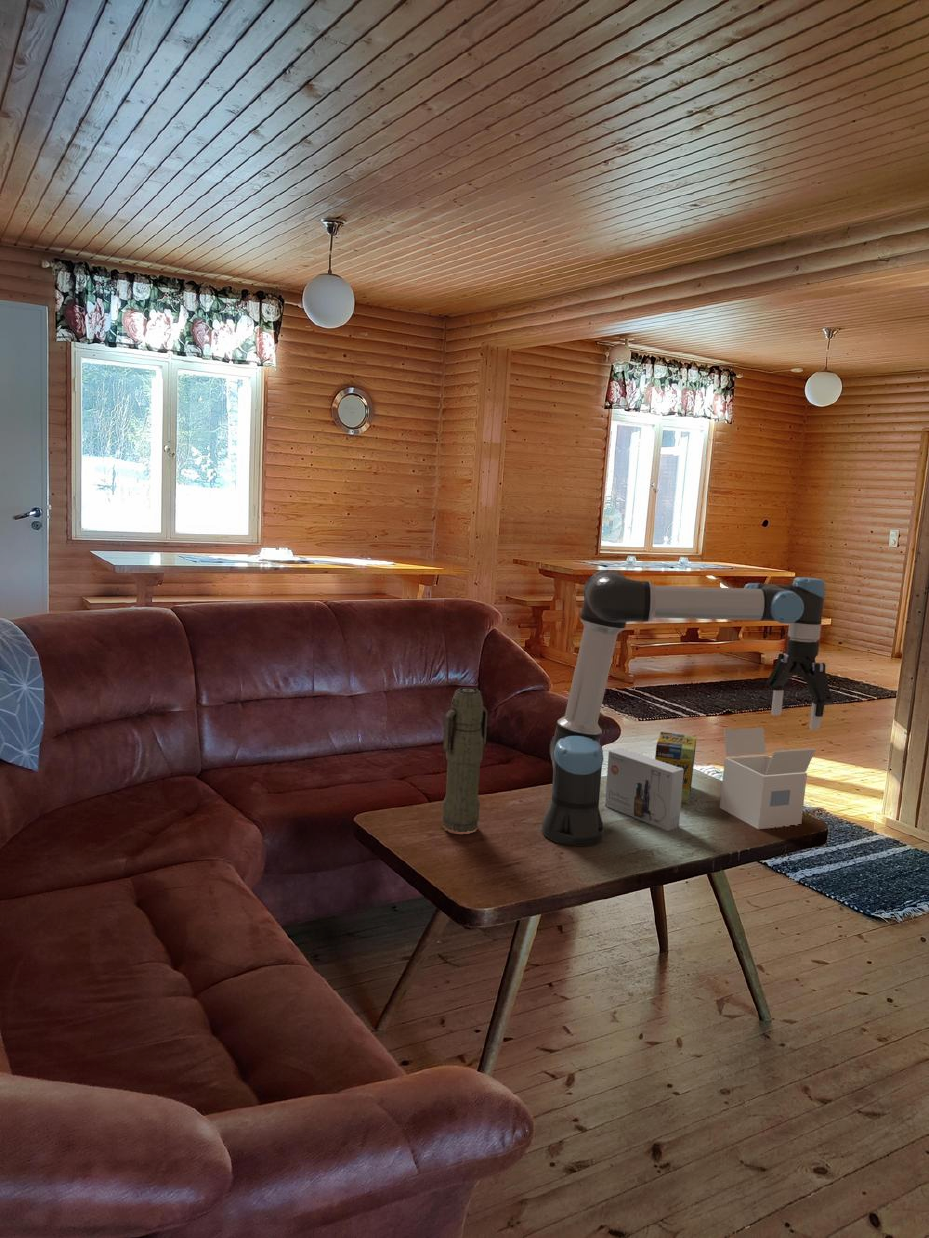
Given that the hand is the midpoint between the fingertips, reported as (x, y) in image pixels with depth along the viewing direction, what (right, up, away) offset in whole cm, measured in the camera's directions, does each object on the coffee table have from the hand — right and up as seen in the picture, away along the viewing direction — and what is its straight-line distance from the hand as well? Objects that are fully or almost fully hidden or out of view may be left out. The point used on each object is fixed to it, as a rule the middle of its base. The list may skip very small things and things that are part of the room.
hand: (794, 721), depth 227 cm
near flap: (0, -11, +4) cm, 11 cm away
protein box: (-24, -24, +30) cm, 45 cm away
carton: (-4, -27, +14) cm, 31 cm away
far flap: (-6, -8, +20) cm, 22 cm away
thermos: (-85, -26, -7) cm, 89 cm away
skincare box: (-38, -26, +9) cm, 47 cm away
